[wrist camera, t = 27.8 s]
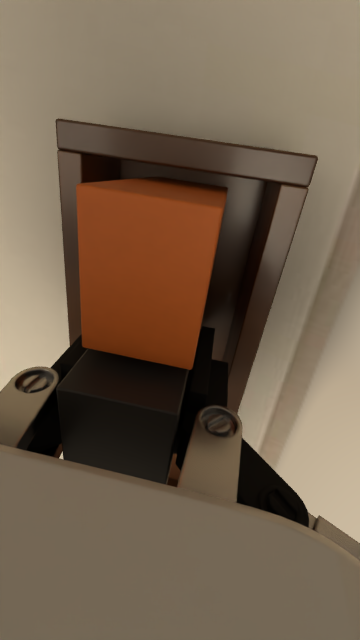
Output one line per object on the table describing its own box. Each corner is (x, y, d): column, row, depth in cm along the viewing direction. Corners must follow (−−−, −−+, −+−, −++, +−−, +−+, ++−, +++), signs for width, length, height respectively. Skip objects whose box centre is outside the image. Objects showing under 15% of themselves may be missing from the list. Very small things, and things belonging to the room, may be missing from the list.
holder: (107, 133, 12) (54, 117, 8) (292, 160, 11) (319, 156, 8) (105, 461, 22) (80, 516, 19) (201, 484, 22) (194, 546, 18)
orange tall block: (228, 187, 12) (223, 207, 5) (210, 279, 14) (192, 371, 7) (156, 176, 12) (74, 183, 6) (148, 268, 14) (81, 347, 8)
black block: (205, 295, 13) (178, 415, 7) (191, 367, 15) (161, 510, 8) (139, 283, 13) (54, 387, 7) (134, 355, 15) (65, 486, 9)
